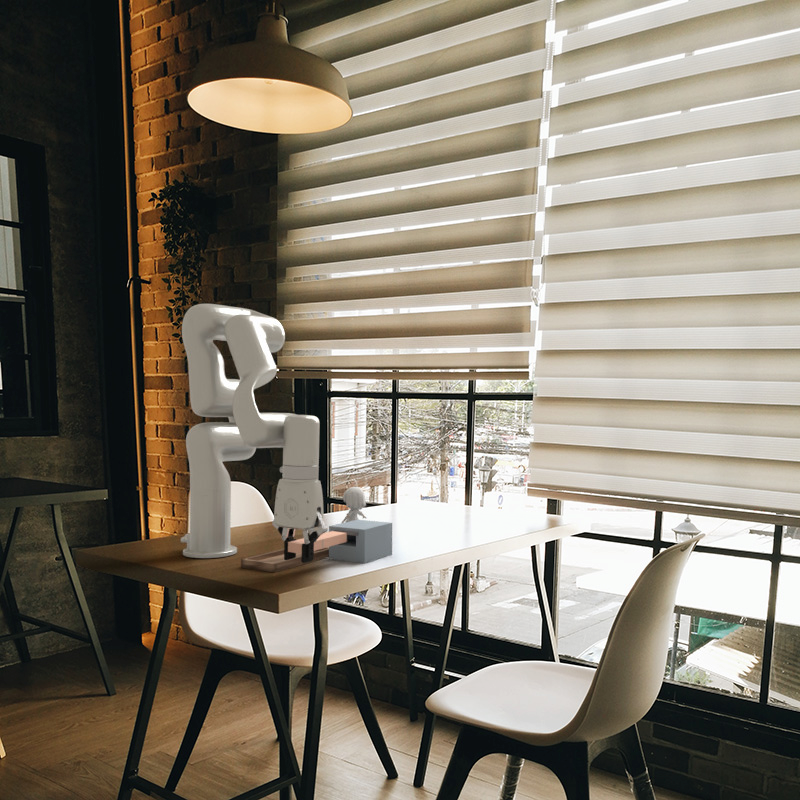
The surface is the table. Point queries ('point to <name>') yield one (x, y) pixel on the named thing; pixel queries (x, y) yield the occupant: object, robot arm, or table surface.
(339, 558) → the dispenser
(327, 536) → the pink rectangular bar
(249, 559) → the tray
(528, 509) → the table surface
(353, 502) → the figurine
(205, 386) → the robot arm
